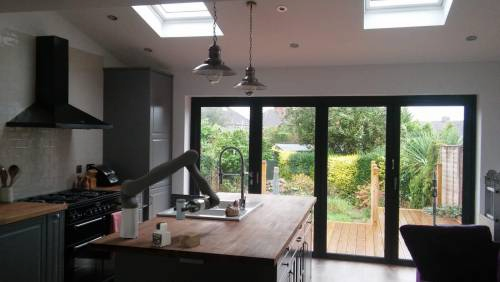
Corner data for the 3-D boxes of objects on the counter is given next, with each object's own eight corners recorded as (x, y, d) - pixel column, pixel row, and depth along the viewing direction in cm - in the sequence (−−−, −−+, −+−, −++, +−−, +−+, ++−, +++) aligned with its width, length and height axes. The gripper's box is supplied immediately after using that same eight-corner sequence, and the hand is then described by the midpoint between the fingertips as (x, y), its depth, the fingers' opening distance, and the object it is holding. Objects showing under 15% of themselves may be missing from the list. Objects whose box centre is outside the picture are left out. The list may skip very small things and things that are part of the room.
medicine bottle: (152, 245, 228) (152, 222, 228) (161, 242, 234) (162, 221, 234) (161, 247, 224) (161, 224, 224) (171, 244, 230) (171, 222, 230)
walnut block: (179, 245, 228) (179, 234, 228) (188, 242, 235) (188, 231, 235) (191, 247, 224) (191, 236, 224) (200, 244, 231) (200, 233, 231)
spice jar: (174, 219, 239) (174, 200, 239) (179, 218, 244) (180, 198, 244) (181, 220, 237) (181, 200, 237) (187, 219, 241) (187, 199, 241)
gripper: (186, 198, 256) (168, 201, 241) (205, 200, 249) (188, 204, 234) (186, 210, 256) (167, 214, 242) (205, 213, 249) (187, 217, 234)
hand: (177, 209), depth 238 cm, fingers closed on spice jar, 5 cm apart
